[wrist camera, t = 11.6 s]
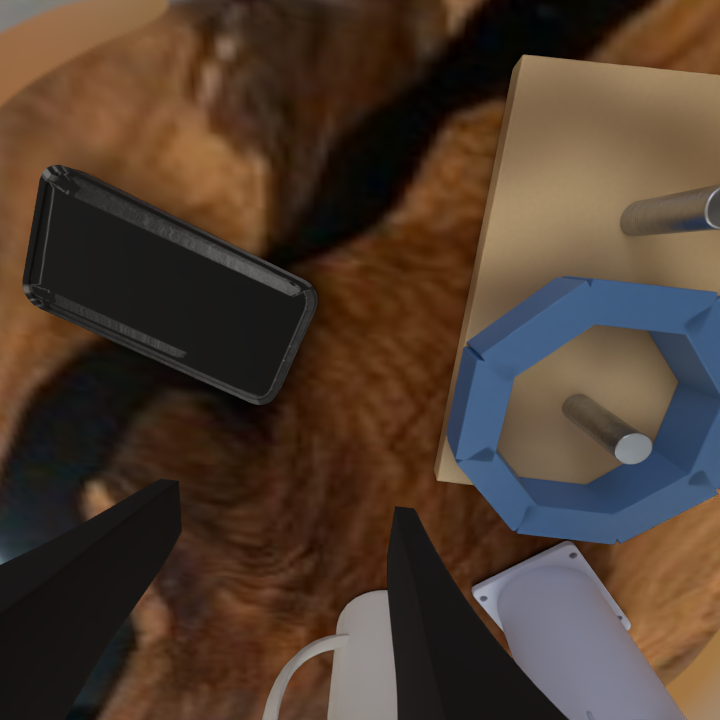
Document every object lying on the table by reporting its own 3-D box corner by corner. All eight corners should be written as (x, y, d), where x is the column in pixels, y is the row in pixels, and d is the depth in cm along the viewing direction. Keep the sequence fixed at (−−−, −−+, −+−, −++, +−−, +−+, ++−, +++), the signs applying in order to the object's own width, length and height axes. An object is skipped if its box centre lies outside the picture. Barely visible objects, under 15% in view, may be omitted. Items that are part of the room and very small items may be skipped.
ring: (753, 296, 17) (817, 302, 15) (654, 519, 21) (691, 554, 19) (479, 266, 17) (496, 267, 15) (433, 494, 22) (441, 525, 19)
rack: (646, 494, 22) (734, 571, 17) (433, 469, 22) (452, 538, 17) (812, 99, 16) (1043, 17, 10) (512, 68, 16) (584, -30, 10)
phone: (43, 156, 17) (321, 291, 18) (64, 162, 18) (324, 289, 19) (19, 301, 19) (268, 412, 20) (38, 298, 20) (273, 404, 21)
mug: (459, 619, 26) (512, 846, 16) (397, 674, 28) (410, 905, 18) (327, 542, 25) (294, 741, 14) (272, 607, 27) (210, 819, 17)
